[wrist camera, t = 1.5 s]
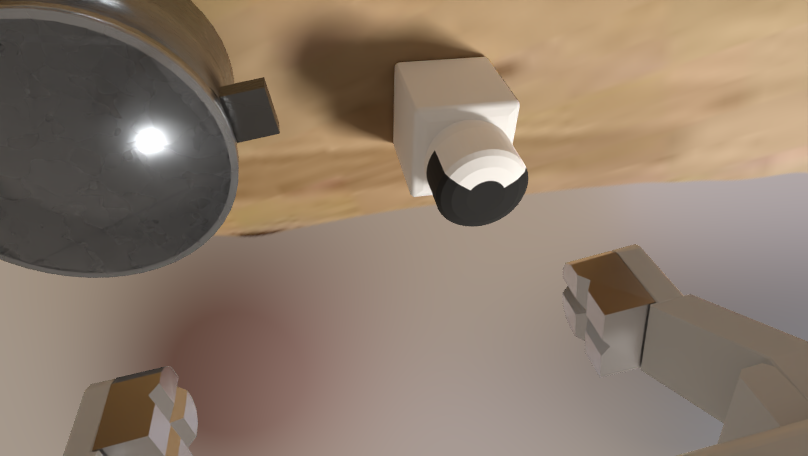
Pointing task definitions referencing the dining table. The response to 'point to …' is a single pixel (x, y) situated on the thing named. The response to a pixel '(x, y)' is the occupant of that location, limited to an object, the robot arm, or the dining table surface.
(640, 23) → the dining table surface
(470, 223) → the medicine bottle
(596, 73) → the dining table surface
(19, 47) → the pot
